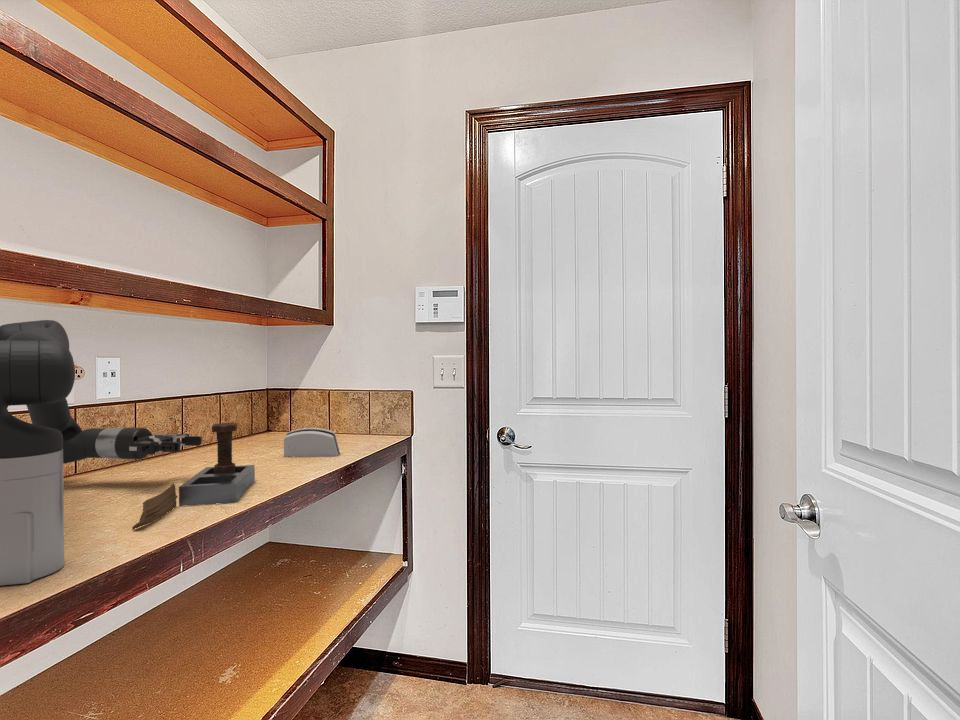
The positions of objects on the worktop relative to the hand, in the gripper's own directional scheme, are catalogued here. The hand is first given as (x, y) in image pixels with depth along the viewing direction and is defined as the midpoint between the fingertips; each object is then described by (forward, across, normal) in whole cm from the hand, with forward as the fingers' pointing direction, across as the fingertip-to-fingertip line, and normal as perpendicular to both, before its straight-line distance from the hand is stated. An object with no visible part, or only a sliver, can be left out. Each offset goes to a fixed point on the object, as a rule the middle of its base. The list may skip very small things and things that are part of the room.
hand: (190, 443), depth 125 cm
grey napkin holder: (+15, +39, +11) cm, 43 cm away
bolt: (+8, 0, +10) cm, 13 cm away
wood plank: (+8, -24, +10) cm, 27 cm away
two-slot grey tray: (+10, -5, +10) cm, 15 cm away
